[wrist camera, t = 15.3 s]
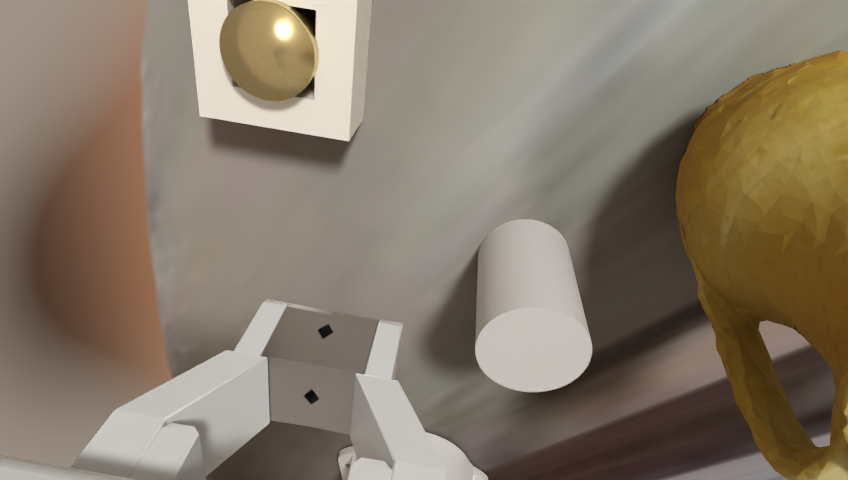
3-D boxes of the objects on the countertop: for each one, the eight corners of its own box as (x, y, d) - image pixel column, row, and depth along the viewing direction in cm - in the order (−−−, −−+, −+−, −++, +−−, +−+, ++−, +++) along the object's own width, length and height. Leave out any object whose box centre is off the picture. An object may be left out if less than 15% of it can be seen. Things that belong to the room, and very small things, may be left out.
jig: (363, 119, 41) (348, 141, 37) (229, 96, 41) (199, 116, 37) (374, -35, 35) (359, -29, 31) (218, -61, 35) (181, -58, 31)
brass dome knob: (334, 85, 39) (313, 108, 34) (255, 72, 39) (223, 93, 35) (337, -2, 36) (314, 9, 31) (251, -16, 36) (215, -7, 31)
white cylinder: (500, 304, 49) (503, 403, 39) (462, 240, 46) (455, 329, 36) (582, 276, 47) (608, 374, 37) (548, 205, 43) (566, 291, 33)
